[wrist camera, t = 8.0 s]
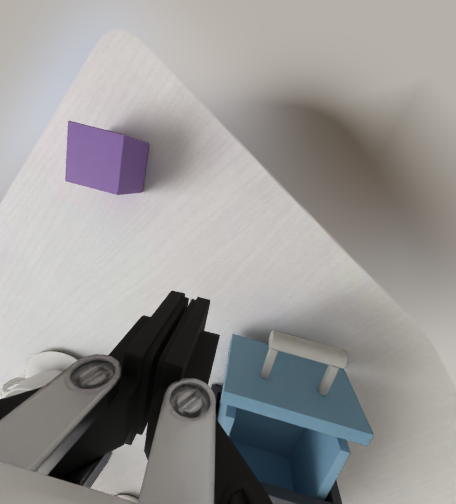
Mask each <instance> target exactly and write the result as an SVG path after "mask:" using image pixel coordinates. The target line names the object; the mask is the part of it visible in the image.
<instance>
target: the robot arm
mask: <svg viewBox="0 0 456 504" xmlns="http://www.w3.org/2000/svg"><path fill="white" fill-rule="evenodd" d="M188 301H189V298H186V297H185V294H184V293H180V292H176V291H171V292H170V293H169V295H168V296H167V297H166V299H165V300H164V301H163V302H162V304H161V305H160V306H159V307H158V309H157V310H156V311H155V313H154V314H153V315H152V316H151V317H148V316H142V317H141V318H140V319H139V320H138V321H137V323H136V324H135V325H134V326H133V327H132V328H131V330H130V331H129V332H128V333H127V334H126V335H125V337H124V338H123V339H122V340H121V341H120V342H119V344H118V345H117V346H116V347H115V348H114V349H113V351H112V352H111V353H110V354H109V355H91V356H87V357H84V358H82V359H79V360H78V361H76V362H75V363H73V364H72V365H70V366H69V367H68V368H67V369H65V370H64V371H63V372H61V373H60V374H59V375H58V376H56V377H55V378H54V379H52V380H51V381H50V382H49V383H47V384H46V385H45V386H43V387H40V388H37V389H33V390H30V391H27V392H23V393H20V394H17V395H13V396H10V397H7V398H3V399H0V504H273V503H272V501H271V499H270V497H269V495H268V493H267V492H266V490H265V489H264V487H263V486H262V485H261V483H260V482H259V480H258V479H257V477H256V476H255V474H254V473H253V471H252V470H251V468H250V467H249V466H248V464H247V463H246V461H245V460H244V458H243V457H242V455H241V454H240V452H239V451H238V450H237V448H236V447H235V445H234V444H233V442H232V441H231V439H230V438H229V436H228V435H227V434H226V432H225V431H224V429H223V428H222V426H221V425H220V423H219V422H218V420H217V419H216V400H215V395H214V393H213V391H212V389H211V388H210V387H209V386H208V382H209V378H210V374H211V370H212V366H213V362H214V357H215V353H216V349H217V345H218V341H219V336H220V335H218V334H214V333H210V332H206V331H204V328H205V324H206V319H207V314H208V310H209V305H210V300H208V299H204V298H200V297H197V299H196V300H194V299H192V300H191V302H190V303H189V305H188ZM187 306H188V307H187ZM147 423H148V426H147V433H146V442H145V449H144V452H145V454H146V457H147V459H148V463H147V467H146V471H145V475H144V479H143V483H142V487H141V491H140V496H139V500H138V503H137V502H134V501H130V500H127V499H124V498H120V497H117V496H114V495H110V494H107V493H104V492H100V491H97V490H94V489H90V487H91V486H92V484H93V483H94V481H95V480H96V478H97V477H98V476H99V474H100V473H101V471H102V470H103V468H104V467H105V465H106V464H107V463H108V461H109V459H110V457H111V455H112V452H113V450H114V449H116V448H118V447H120V446H122V445H124V443H125V444H129V445H131V444H132V442H133V440H134V438H135V436H136V434H140V435H142V433H143V432H144V430H145V427H146V425H147Z"/></svg>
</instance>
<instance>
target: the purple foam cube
mask: <svg viewBox="0 0 456 504" xmlns="http://www.w3.org/2000/svg"><path fill="white" fill-rule="evenodd" d="M148 150H149V143H146V142H143V141H141V140H138V139H135V138H132V137H129V136H126V135H123V134H119V133H115V132H111V131H107V130H103V129H99V128H95V127H91V126H87V125H84V124H80V123H76V122H72V121H68V137H67V159H66V181H67V182H71V183H75V184H79V185H83V186H86V187H90V188H94V189H98V190H101V191H105V192H109V193H113V194H117V195H120V194H131V193H141V192H143V186H144V179H145V172H146V164H147V157H148Z"/></svg>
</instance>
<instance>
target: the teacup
mask: <svg viewBox="0 0 456 504" xmlns="http://www.w3.org/2000/svg"><path fill="white" fill-rule="evenodd" d="M76 361H78V360H77V359H75V358H74V357H72V356H69V355H67V354H64V353H60V352H53V351H48V352H42V353H39V354H37V355H35V356H33V357H32V358H31V359H30V360H29V361H28V363H27V365H26V367H25V371H24V378H22V377H19V378H14V379H12V380H10V381H8V382H7V383H6V384H4V385H3V387H2V388H1V395H2V396H3V398H7V397H10V396H13V395H17V394H20V393H23V392H27V391H30V390H33V389H37V388H40V387H43V386H45V385H46V384H47V383H49V382H50V381H51V380H52V379H54V378H55V377H56V376H58V375H59V374H60V373H61V372H63V371H64V370H65V369H67V368H68V367H69V366H70V365H72V364H73V363H75V362H76ZM14 384H19V385H17V386H16V387H14V388H13V389H11V390H7V388H9V387H10V386H12V385H14Z"/></svg>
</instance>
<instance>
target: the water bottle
mask: <svg viewBox="0 0 456 504" xmlns="http://www.w3.org/2000/svg"><path fill="white" fill-rule="evenodd" d="M117 497H120V498H124V499H127V500H130V501H134V502H137V503H138V500H139V499H137V498H136V497H133V496H130V495H117Z"/></svg>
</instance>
